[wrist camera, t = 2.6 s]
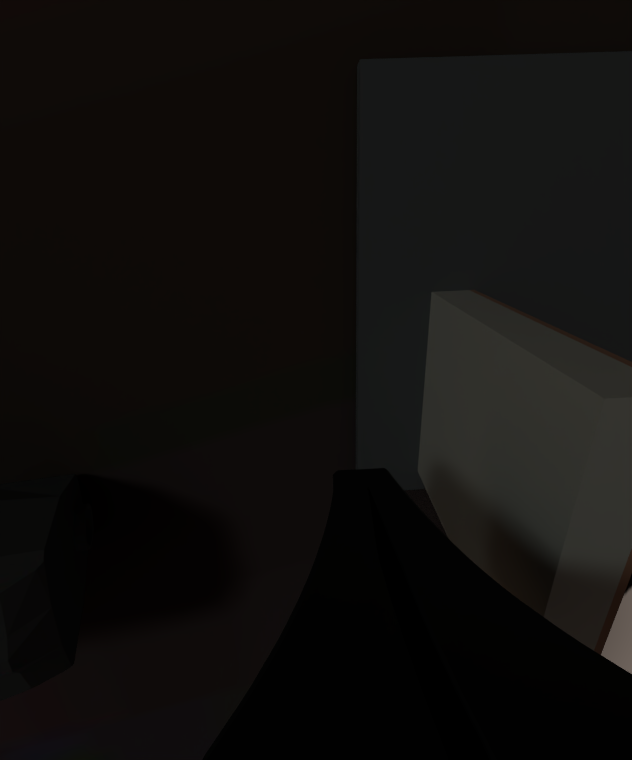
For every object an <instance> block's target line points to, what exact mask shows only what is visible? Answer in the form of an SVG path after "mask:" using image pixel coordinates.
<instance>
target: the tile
mask: <svg viewBox="0 0 632 760" xmlns="http://www.w3.org/2000/svg"><path fill="white" fill-rule="evenodd" d="M418 473H419V475H420V478H421V480H422V482H423V484H424V486H425V488H426V491H427V493H428V495H429V497H430V499H431V501H432V504H433V506H434V508H435V510H436V512H437V514H438V517H439V519H440V521H441V523H442V525H443V527H444V530H445V532H446V534H447V536H448V538H449V540H450V541H451V542H452V543H453V544H454V545H456V546H457V547H458V548H459V549H460V550H461V551H462V552H463V553H464V554H465V555H466V556H467V557H468V558H469V559H471V560H472V561H473V562H474V563H475V564H476V565H477V566H478V567H480V568H481V569H482V570H483V571H484V572H485V573H487V574H488V575H489V576H490V577H491V578H493V579H494V580H495V581H496V582H497V583H499V584H500V585H501V586H502V587H504V588H505V589H506V590H507V591H509V592H510V593H511V594H513V595H514V596H515V597H516V598H518V599H519V600H520V601H522V602H523V603H525V604H526V605H527V606H529V607H530V608H532V609H533V610H534V611H536V612H537V613H539V614H540V615H542V616H543V617H544V618H546V619H547V620H549V621H550V622H551V623H553V624H554V625H556V626H557V627H558V628H560V629H561V630H563V631H564V632H566V633H567V634H569V635H570V636H572V637H573V638H575V639H576V640H578V641H579V642H581V643H582V644H584V645H586V646H587V647H589V648H590V649H592V650H593V651H595V652H597V653H598V654H600V655H601V653H602V650H603V648H604V645H605V642H606V640H607V637H608V634H609V632H610V629H611V627H612V624H613V621H614V618H615V616H616V614H617V611H618V608H619V606H620V603H621V601H622V598H623V595H624V593H625V590H626V587H627V585H628V582H629V580H630V577H631V574H632V362H631V361H629V360H626V359H624V358H622V357H620V356H618V355H615V354H613V353H611V352H609V351H607V350H605V349H602V348H600V347H598V346H596V345H594V344H591V343H589V342H587V341H585V340H583V339H581V338H578V337H576V336H574V335H572V334H570V333H567V332H565V331H563V330H561V329H559V328H557V327H554V326H552V325H550V324H548V323H546V322H543V321H541V320H539V319H537V318H535V317H533V316H530V315H528V314H526V313H524V312H522V311H519V310H517V309H515V308H513V307H511V306H509V305H506V304H504V303H502V302H500V301H498V300H495V299H493V298H491V297H489V296H487V295H485V294H482V293H480V292H478V291H476V290H461V291H439V292H432V293H431V306H430V319H429V332H428V344H427V357H426V370H425V383H424V396H423V409H422V421H421V434H420V447H419V460H418Z"/></svg>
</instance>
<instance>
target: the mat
mask: <svg viewBox="0 0 632 760" xmlns="http://www.w3.org/2000/svg"><path fill="white" fill-rule="evenodd" d="M461 290H476V291H478V292H480V293H482V294H485V295H487V296H489V297H491V298H493V299H495V300H498V301H500V302H502V303H504V304H506V305H509V306H511V307H513V308H515V309H517V310H519V311H522V312H524V313H526V314H528V315H530V316H533V317H535V318H537V319H539V320H541V321H543V322H546V323H548V324H550V325H552V326H554V327H557V328H559V329H561V330H563V331H565V332H567V333H570V334H572V335H574V336H576V337H578V338H581V339H583V340H585V341H587V342H589V343H591V344H594V345H596V346H598V347H600V348H602V349H605V350H607V351H609V352H611V353H613V354H615V355H618V356H620V357H622V358H624V359H626V360H629V361H631V362H632V51H625V52H591V53H558V54H525V55H491V56H458V57H424V58H391V59H360V61H359V63H358V65H357V276H356V470H357V469H374V468H385V469H387V470H388V471H389V472H390V474H391V475H392V476H393V478H394V479H395V480H396V481H397V483H398V484H399V485H400V486H401V487H402V489H403V490H413V489H426V488H425V486H424V484H423V482H422V480H421V478H420V475H419V473H418V460H419V447H420V434H421V421H422V409H423V396H424V383H425V370H426V357H427V344H428V332H429V319H430V306H431V293H432V292H439V291H461Z"/></svg>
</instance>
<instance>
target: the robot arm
mask: <svg viewBox="0 0 632 760" xmlns="http://www.w3.org/2000/svg"><path fill="white" fill-rule="evenodd" d="M203 760H632V674H630V673H629V672H627V671H625V670H624V669H622V668H621V667H619V666H617V665H616V664H614V663H613V662H611V661H609V660H608V659H606V658H605V657H603V656H601V655H600V654H598V653H597V652H595V651H593V650H592V649H590V648H589V647H587V646H586V645H584V644H582V643H581V642H579V641H578V640H576V639H575V638H573V637H572V636H570V635H569V634H567V633H566V632H564V631H563V630H561V629H560V628H558V627H557V626H556V625H554V624H553V623H551V622H550V621H549V620H547V619H546V618H544V617H543V616H542V615H540V614H539V613H537V612H536V611H534V610H533V609H532V608H530V607H529V606H527V605H526V604H525V603H523V602H522V601H520V600H519V599H518V598H516V597H515V596H514V595H513V594H511V593H510V592H509V591H507V590H506V589H505V588H504V587H502V586H501V585H500V584H499V583H497V582H496V581H495V580H494V579H493V578H491V577H490V576H489V575H488V574H487V573H485V572H484V571H483V570H482V569H481V568H480V567H478V566H477V565H476V564H475V563H474V562H473V561H472V560H471V559H469V558H468V557H467V556H466V555H465V554H464V553H463V552H462V551H461V550H460V549H459V548H458V547H457V546H456V545H454V544H453V543H452V542H451V541H450V540H449V539H448V538H447V537H446V536H445V535H444V534H443V533H442V532H441V531H440V530H439V529H438V528H437V527H436V526H435V524H434V523H433V522H432V521H431V520H430V519H429V518H428V517H427V516H426V515H425V514H424V513H423V512H422V511H421V510H420V508H419V507H418V506H417V505H416V504H415V503H414V502H413V500H412V499H411V498H410V497H409V496H408V495H407V493H406V492H405V491H404V490H403V489H402V487H401V486H400V485H399V484H398V483H397V481H396V480H395V479H394V478H393V476H392V475H391V474H390V472H389V471H388V470H387V469H385V468H374V469H357V470H341V471H337V472H335V473H334V474H333V497H332V503H331V508H330V512H329V516H328V520H327V524H326V528H325V532H324V535H323V538H322V541H321V544H320V547H319V550H318V553H317V556H316V559H315V562H314V564H313V567H312V569H311V572H310V574H309V577H308V579H307V582H306V584H305V586H304V588H303V591H302V593H301V595H300V597H299V600H298V602H297V604H296V606H295V608H294V610H293V612H292V614H291V616H290V618H289V620H288V622H287V624H286V626H285V628H284V630H283V632H282V634H281V636H280V637H279V639H278V641H277V643H276V645H275V646H274V648H273V650H272V651H271V653H270V655H269V657H268V658H267V660H266V662H265V663H264V665H263V667H262V668H261V670H260V672H259V674H258V675H257V677H256V679H255V680H254V682H253V684H252V685H251V687H250V689H249V690H248V692H247V693H246V695H245V697H244V698H243V700H242V701H241V703H240V704H239V706H238V707H237V709H236V710H235V712H234V713H233V714H232V716H231V717H230V719H229V720H228V722H227V723H226V725H225V726H224V728H223V729H222V731H221V732H220V734H219V735H218V737H217V738H216V740H215V741H214V743H213V744H212V746H211V747H210V748H209V750H208V751H207V753H206V754H205V756H204V758H203Z"/></svg>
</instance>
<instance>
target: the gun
mask: <svg viewBox="0 0 632 760" xmlns="http://www.w3.org/2000/svg"><path fill="white" fill-rule="evenodd" d="M92 543H93V514H92V509H91V505H90V504H89V503H87V504H83V502H82V496H81V491H80V486H79V481H78V478H77V476H76V475H75V474H71V475H64V476H57V477H50V478H42V479H35V480H28V481H21V482H13V483H6V484H0V701H1V700H4V699H6V698H9V697H11V696H14V695H16V694H19V693H21V692H24V691H26V690H29V689H31V688H33V687H35V686H37V685H39V684H41V683H43V682H45V681H46V680H48V679H50V678H52V677H54V676H56V675H58V674H60V673H61V672H63V671H65V670H67V669H68V668H70V667H71V666H72V665H73V664H74V660H75V654H76V648H77V641H78V635H79V629H80V623H81V617H82V610H83V604H84V593H85V580H86V568H87V555H88V550H89V549H91V547H92Z"/></svg>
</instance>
